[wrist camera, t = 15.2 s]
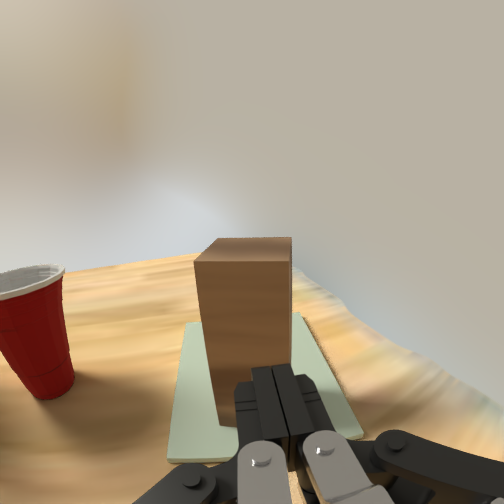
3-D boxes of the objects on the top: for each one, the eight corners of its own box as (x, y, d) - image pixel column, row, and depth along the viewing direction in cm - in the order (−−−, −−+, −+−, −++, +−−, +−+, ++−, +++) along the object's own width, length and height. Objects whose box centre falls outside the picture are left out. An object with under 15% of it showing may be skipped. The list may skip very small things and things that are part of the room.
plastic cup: (106, 353, 29) (79, 251, 26) (83, 420, 19) (29, 294, 16) (33, 353, 27) (3, 261, 24) (-2, 408, 17) (-53, 299, 14)
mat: (362, 437, 17) (363, 432, 17) (168, 462, 16) (166, 458, 16) (299, 316, 36) (299, 312, 36) (186, 326, 35) (186, 322, 35)
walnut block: (286, 430, 18) (288, 261, 15) (219, 425, 19) (193, 261, 16) (290, 387, 23) (291, 237, 20) (232, 384, 24) (217, 238, 20)
